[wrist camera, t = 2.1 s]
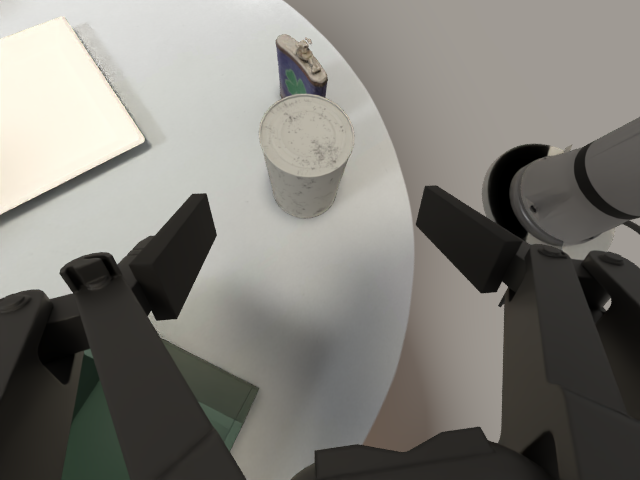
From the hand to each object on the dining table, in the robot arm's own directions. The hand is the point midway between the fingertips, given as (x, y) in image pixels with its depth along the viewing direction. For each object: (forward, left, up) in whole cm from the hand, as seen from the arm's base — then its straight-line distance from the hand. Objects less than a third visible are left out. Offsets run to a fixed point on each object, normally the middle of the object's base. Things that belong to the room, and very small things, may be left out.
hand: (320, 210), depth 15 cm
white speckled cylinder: (+5, -9, -20) cm, 22 cm away
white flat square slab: (+45, +1, -20) cm, 49 cm away
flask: (+12, -21, -20) cm, 31 cm away
